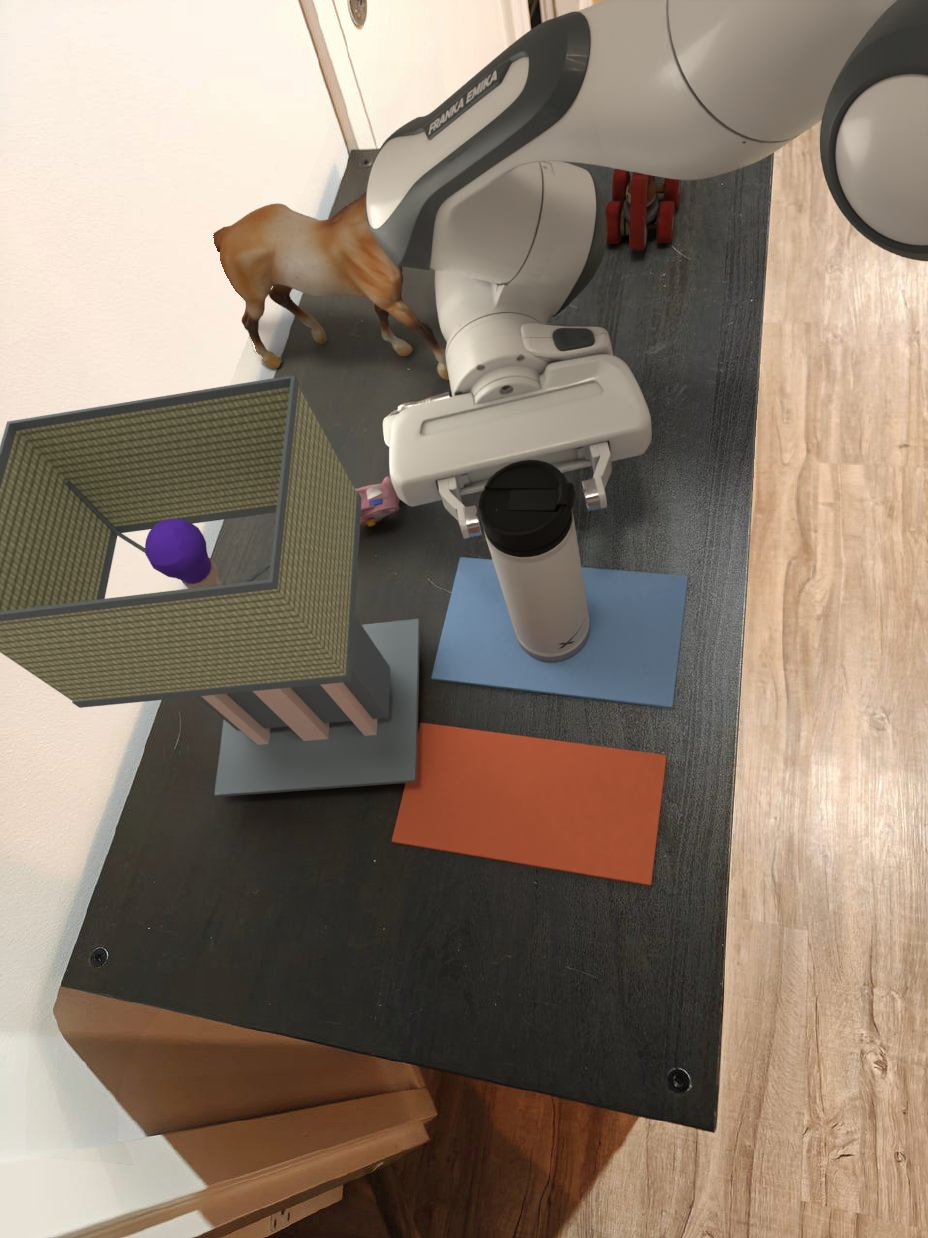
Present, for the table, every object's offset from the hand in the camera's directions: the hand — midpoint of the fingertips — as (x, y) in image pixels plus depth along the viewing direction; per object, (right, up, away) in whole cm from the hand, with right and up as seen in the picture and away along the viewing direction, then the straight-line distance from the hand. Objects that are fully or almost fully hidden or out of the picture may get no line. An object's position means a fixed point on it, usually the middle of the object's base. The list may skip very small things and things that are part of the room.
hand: (534, 519), depth 70 cm
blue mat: (+3, -8, +10) cm, 13 cm away
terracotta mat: (0, -21, +4) cm, 22 cm away
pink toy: (-15, +2, +20) cm, 25 cm away
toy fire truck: (+14, +35, +31) cm, 49 cm away
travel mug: (+3, -8, +10) cm, 13 cm away
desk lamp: (-17, -16, +10) cm, 25 cm away
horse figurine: (-16, +22, +31) cm, 41 cm away
